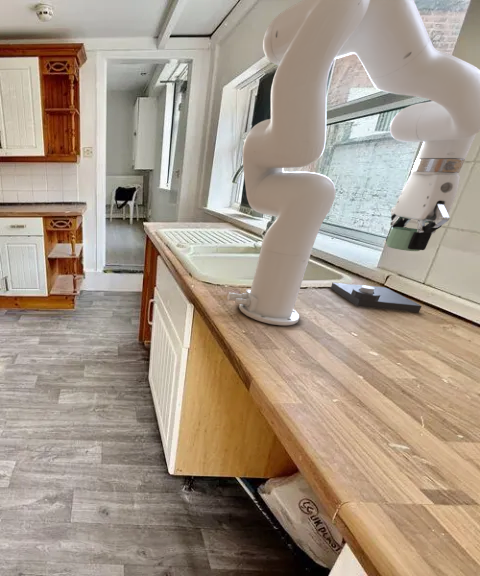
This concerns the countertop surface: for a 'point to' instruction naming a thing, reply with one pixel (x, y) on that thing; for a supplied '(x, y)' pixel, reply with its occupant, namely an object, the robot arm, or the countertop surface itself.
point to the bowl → (400, 238)
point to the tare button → (367, 289)
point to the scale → (375, 298)
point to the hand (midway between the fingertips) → (404, 245)
